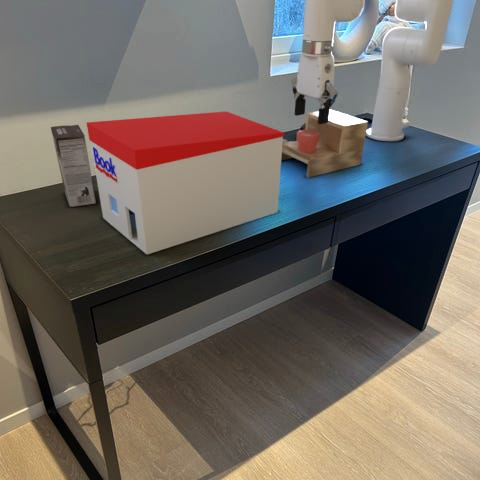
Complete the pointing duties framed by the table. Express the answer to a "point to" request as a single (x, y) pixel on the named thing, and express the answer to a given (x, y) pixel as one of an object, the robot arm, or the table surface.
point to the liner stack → (307, 140)
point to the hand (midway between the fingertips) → (310, 118)
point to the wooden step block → (331, 143)
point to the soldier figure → (284, 140)
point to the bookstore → (184, 175)
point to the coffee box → (74, 164)
